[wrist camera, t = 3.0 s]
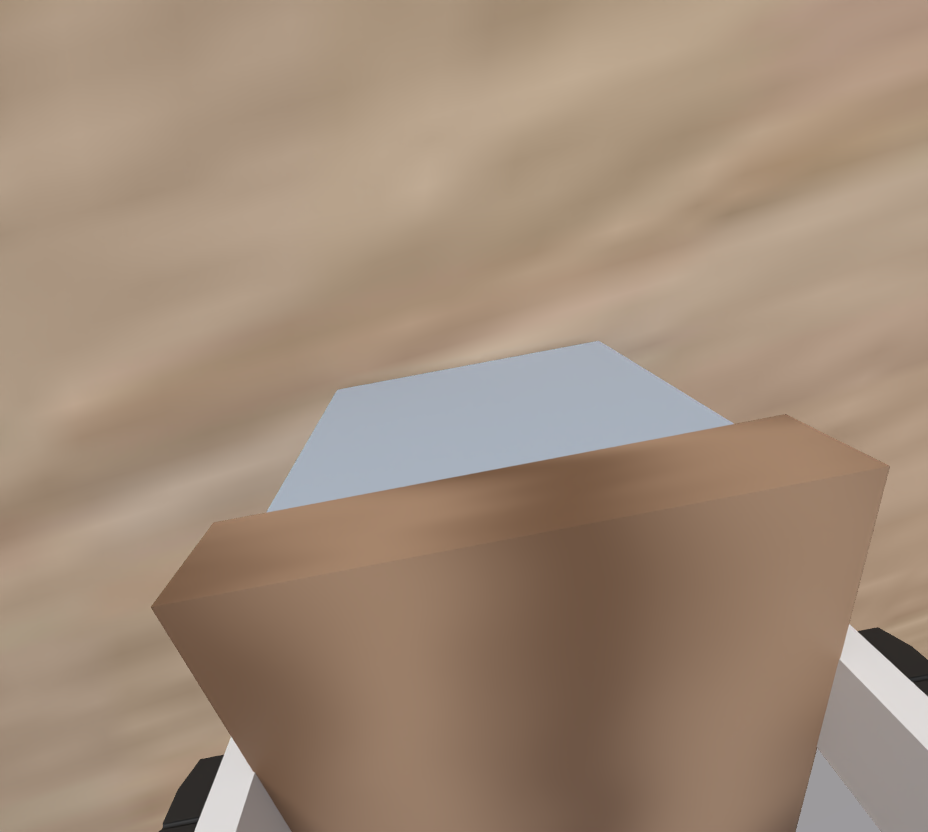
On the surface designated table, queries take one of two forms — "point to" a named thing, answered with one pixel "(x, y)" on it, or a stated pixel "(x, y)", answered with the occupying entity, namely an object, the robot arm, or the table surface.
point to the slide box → (485, 421)
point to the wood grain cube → (542, 638)
